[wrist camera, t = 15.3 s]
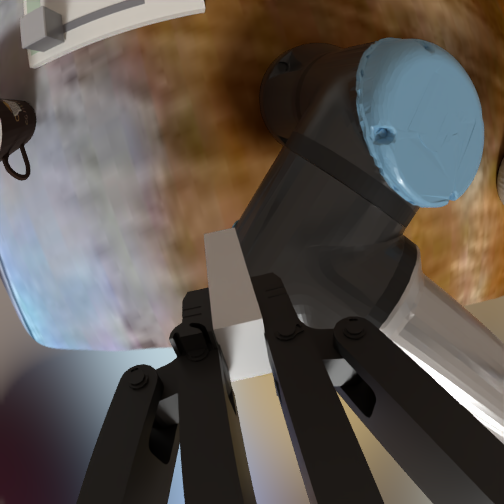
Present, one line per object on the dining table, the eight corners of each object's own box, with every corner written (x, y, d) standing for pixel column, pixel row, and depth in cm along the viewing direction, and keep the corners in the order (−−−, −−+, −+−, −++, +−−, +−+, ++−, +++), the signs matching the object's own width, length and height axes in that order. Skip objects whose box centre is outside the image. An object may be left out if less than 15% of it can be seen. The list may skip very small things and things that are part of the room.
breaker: (61, 14, 21) (42, 5, 17) (64, 41, 23) (45, 35, 19) (40, 25, 21) (19, 18, 16) (43, 52, 23) (22, 48, 18)
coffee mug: (-11, 109, 26) (-55, 120, 17) (35, 81, 26) (-7, 83, 18) (10, 183, 32) (-29, 210, 23) (56, 161, 32) (19, 184, 24)
